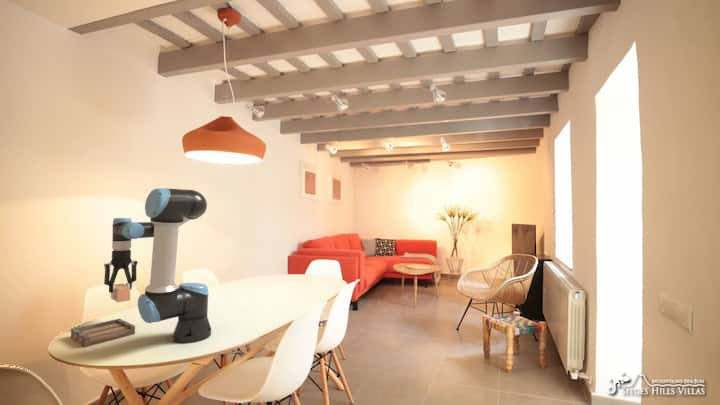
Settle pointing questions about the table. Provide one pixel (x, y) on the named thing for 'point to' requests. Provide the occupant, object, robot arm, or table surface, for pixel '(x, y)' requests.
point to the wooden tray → (102, 332)
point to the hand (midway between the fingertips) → (120, 297)
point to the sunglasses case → (122, 292)
